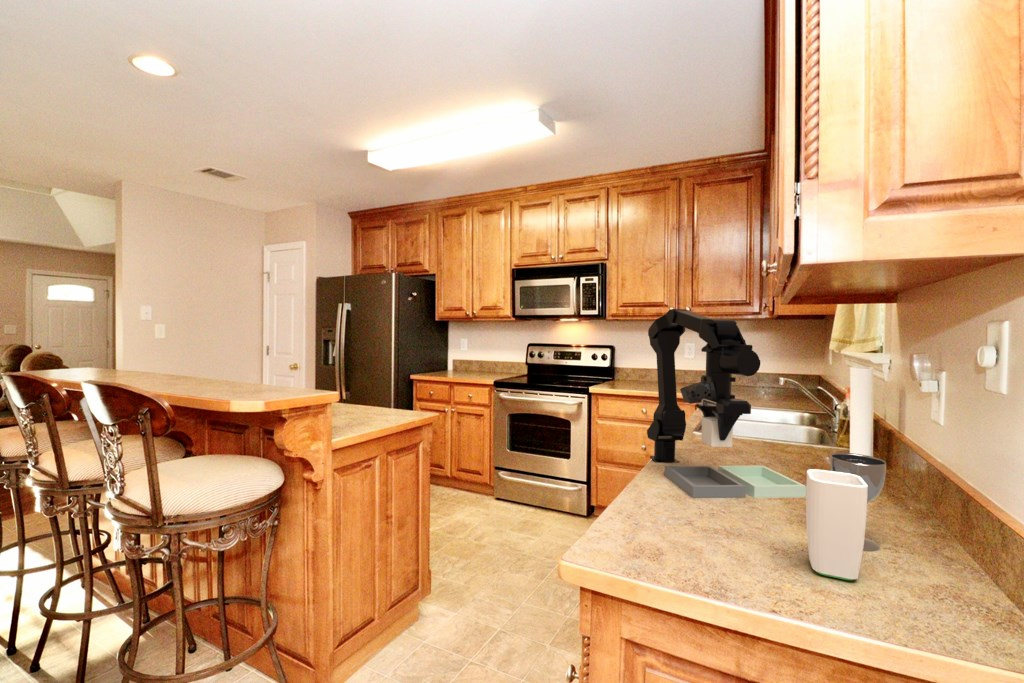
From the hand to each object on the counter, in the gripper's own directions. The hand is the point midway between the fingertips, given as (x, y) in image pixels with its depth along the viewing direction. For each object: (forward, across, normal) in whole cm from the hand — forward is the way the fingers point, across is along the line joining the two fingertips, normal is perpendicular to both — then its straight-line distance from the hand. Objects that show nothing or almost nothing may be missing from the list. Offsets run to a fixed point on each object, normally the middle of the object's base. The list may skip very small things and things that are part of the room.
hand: (716, 437), depth 113 cm
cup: (+12, +39, 0) cm, 41 cm away
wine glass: (+12, +29, +11) cm, 33 cm away
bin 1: (+12, 0, -3) cm, 12 cm away
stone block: (+2, 0, 0) cm, 2 cm away
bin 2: (+12, 0, +11) cm, 16 cm away
